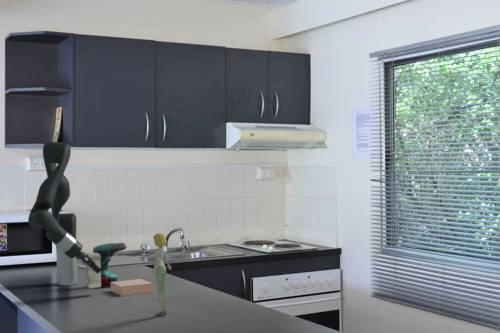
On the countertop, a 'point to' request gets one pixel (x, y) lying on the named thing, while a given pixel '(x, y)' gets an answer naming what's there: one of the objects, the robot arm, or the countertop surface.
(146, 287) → the base block
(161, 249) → the sculpture
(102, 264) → the power drill
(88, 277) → the post
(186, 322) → the countertop surface
